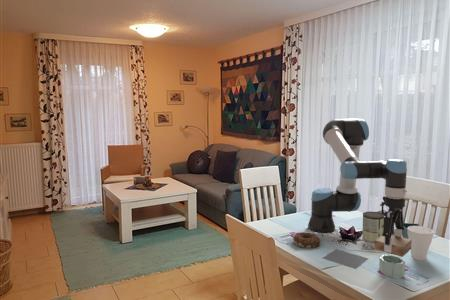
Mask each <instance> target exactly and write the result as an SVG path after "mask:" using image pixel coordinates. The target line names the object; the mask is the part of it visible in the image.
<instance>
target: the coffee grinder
mask: <svg viewBox="0 0 450 300" xmlns="http://www.w3.org/2000/svg"><path fill="white" fill-rule="evenodd" d="M385 197H386V195H384V196H382V200H383V201H382V202H381V204H379V206H380V207H381V209H380V210H377V212H378V213H381V214H383V215H384V222H385V213H386V212H388V210H384V206H386V205H385ZM383 228H384V224H383ZM394 230H395V226H394V227H393V231H392V235H394Z"/></svg>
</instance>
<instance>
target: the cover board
mask: <svg viewBox="0 0 450 300" xmlns="http://www.w3.org/2000/svg"><path fill="white" fill-rule="evenodd" d="M391 237H392V253H388V252H385V251H384V239H385V236H382V235H381V236H380V237H379V238H377V239H376V240H375V244H374V249H373V250H375V251H378V252H381V253H385V254H388V255H394V256H398V257H401V258H403V257H404V256H405V255H406V254H407V253H408V252H410V251H411V241H412V240H411V239H406V238H403V236H402V237H398V236H394V234H392V236H391Z"/></svg>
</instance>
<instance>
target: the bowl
mask: <svg viewBox="0 0 450 300" xmlns="http://www.w3.org/2000/svg"><path fill="white" fill-rule="evenodd" d="M405 265H406V260H405V259H403V257H400V256H397V255H393V254H382V255H381V256H380V257H379V263H378V270H379V272H381V274H382V275H386V276H387V277H388V278H391V279H402V278H403V277H404V276H405V270H406V269H405V268H406V266H405Z"/></svg>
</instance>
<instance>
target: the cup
mask: <svg viewBox="0 0 450 300" xmlns="http://www.w3.org/2000/svg"><path fill="white" fill-rule="evenodd" d="M407 231H408V239H411V240H412V241H411V249H410V255H411V257H412V259H415V260H417V261H426V260H427V257H428V251H429V249H430V246H431V244H432V240H433V237H434V230H433V229H432V228H430V227H427V226H426V227H425V226H422V225H420V226H409V227H408V228H407Z"/></svg>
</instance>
